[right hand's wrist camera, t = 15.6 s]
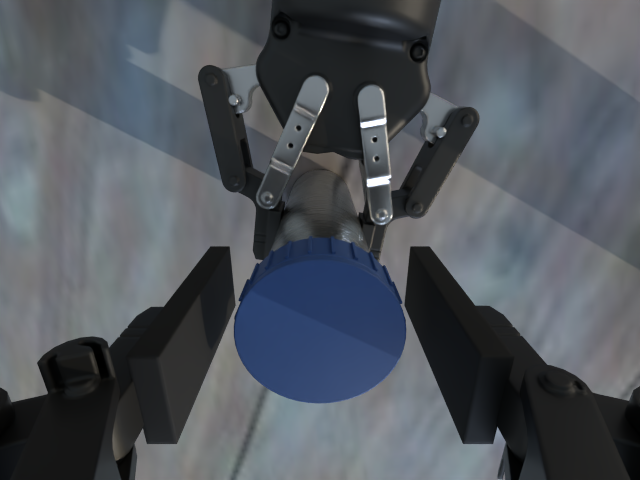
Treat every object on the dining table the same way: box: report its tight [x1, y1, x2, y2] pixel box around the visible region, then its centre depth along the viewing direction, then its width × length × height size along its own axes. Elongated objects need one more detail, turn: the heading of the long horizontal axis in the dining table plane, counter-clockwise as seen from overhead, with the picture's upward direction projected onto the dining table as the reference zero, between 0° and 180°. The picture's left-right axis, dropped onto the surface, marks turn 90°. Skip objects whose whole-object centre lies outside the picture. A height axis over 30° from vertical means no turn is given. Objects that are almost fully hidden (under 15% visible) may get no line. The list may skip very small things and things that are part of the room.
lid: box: [234, 236, 406, 403], centre depth 11 cm, size 5×5×2 cm
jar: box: [271, 169, 369, 253], centre depth 19 cm, size 4×4×16 cm
